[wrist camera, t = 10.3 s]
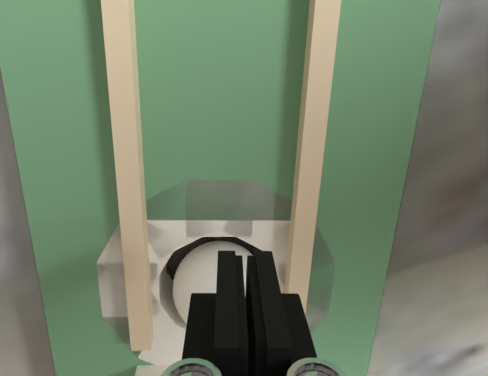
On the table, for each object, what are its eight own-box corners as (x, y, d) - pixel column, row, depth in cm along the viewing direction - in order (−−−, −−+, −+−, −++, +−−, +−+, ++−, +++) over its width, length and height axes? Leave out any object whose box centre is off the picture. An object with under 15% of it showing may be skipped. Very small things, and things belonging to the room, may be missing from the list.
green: (452, -268, 15) (597, -462, 9) (346, 359, 26) (382, 444, 20) (-24, -322, 13) (-197, -588, 8) (79, 366, 24) (38, 460, 19)
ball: (256, 251, 17) (295, 318, 19) (224, 209, 22) (259, 269, 24) (162, 313, 16) (214, 375, 19) (148, 257, 21) (192, 313, 23)
